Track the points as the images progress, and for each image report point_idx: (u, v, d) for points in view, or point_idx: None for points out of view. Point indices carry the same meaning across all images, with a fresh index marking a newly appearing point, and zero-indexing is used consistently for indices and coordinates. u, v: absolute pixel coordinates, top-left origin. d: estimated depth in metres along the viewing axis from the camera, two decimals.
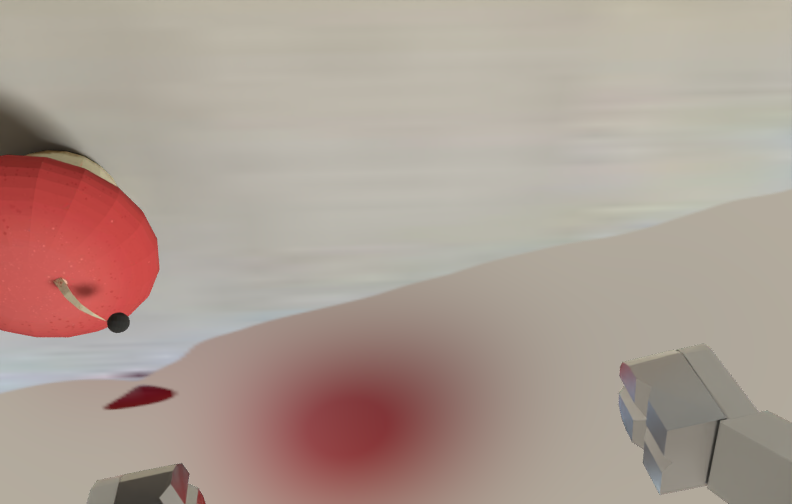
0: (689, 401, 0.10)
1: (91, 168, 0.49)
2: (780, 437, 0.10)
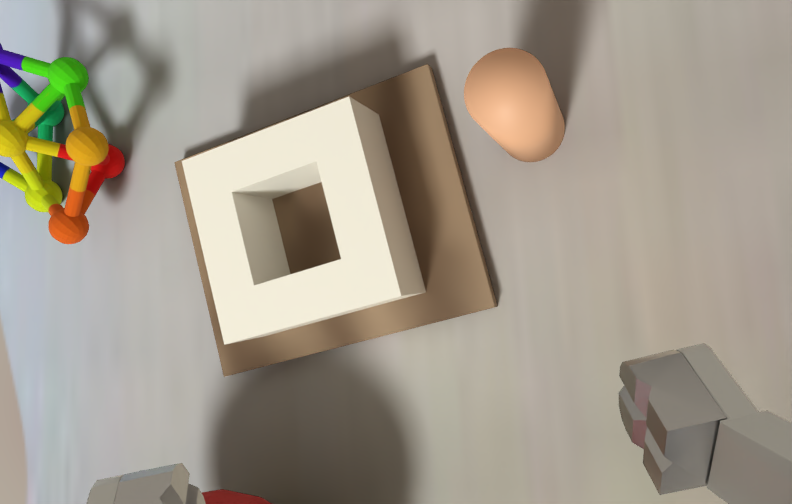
0: (689, 401, 0.10)
1: None
2: (779, 437, 0.10)
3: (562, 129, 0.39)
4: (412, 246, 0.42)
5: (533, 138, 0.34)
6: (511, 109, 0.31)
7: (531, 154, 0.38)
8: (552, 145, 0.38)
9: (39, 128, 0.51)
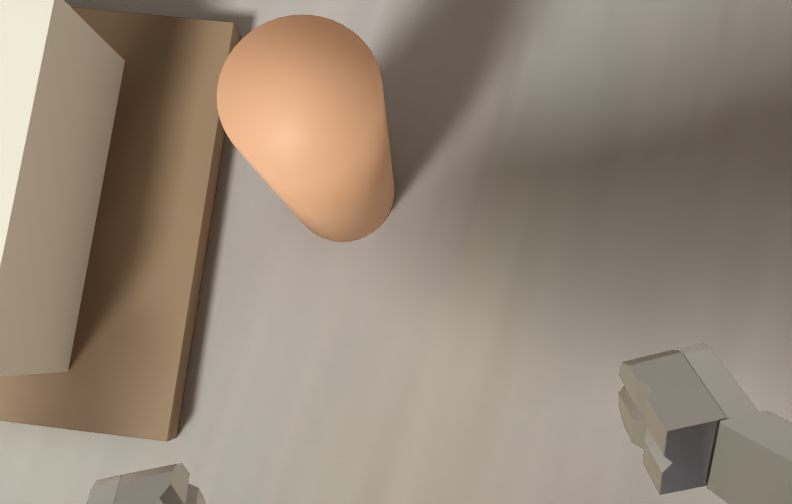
0: (689, 401, 0.10)
1: None
2: (779, 437, 0.10)
3: (385, 210, 0.24)
4: (77, 289, 0.24)
5: (324, 204, 0.19)
6: (295, 133, 0.16)
7: (321, 227, 0.23)
8: (359, 227, 0.23)
9: None
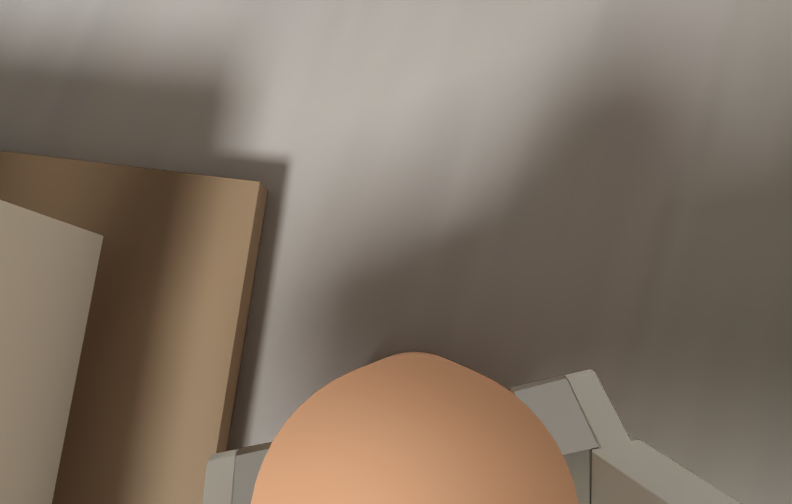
0: (565, 429, 0.10)
1: None
2: (646, 467, 0.10)
3: None
4: None
5: None
6: None
7: None
8: None
9: None
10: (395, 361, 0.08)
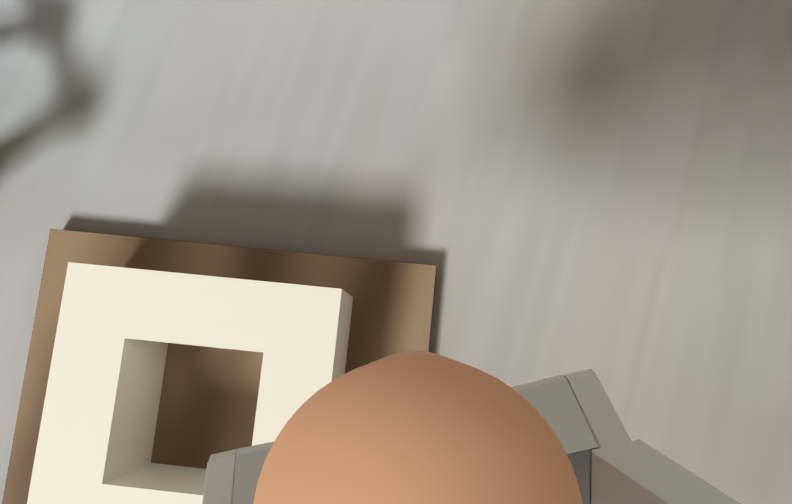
0: (565, 429, 0.10)
1: None
2: (646, 467, 0.10)
3: None
4: None
5: None
6: None
7: None
8: None
9: None
10: (398, 359, 0.08)
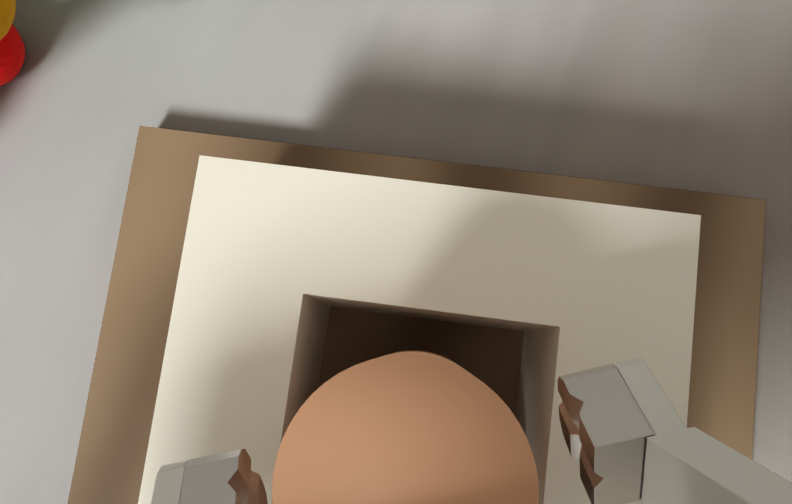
0: (618, 417, 0.10)
1: None
2: (703, 454, 0.10)
3: None
4: None
5: None
6: None
7: None
8: None
9: None
10: (389, 357, 0.10)
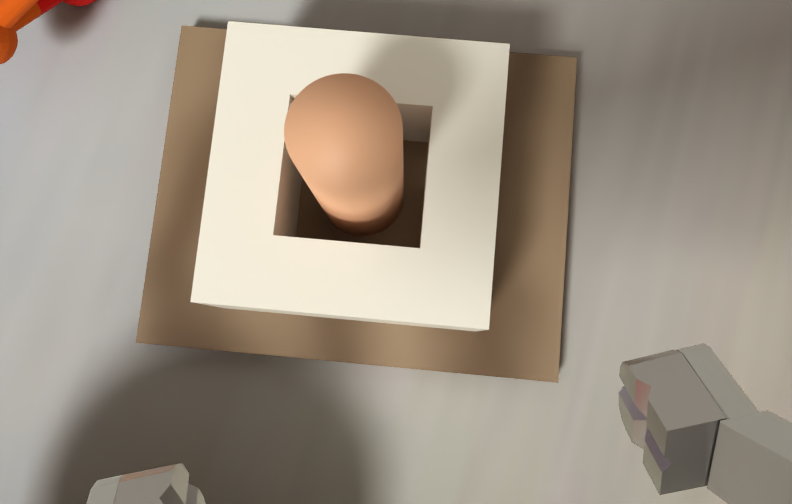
0: (689, 401, 0.10)
1: None
2: (779, 436, 0.10)
3: (397, 210, 0.30)
4: None
5: (356, 208, 0.25)
6: (341, 159, 0.22)
7: (349, 225, 0.29)
8: (378, 224, 0.30)
9: None
10: None
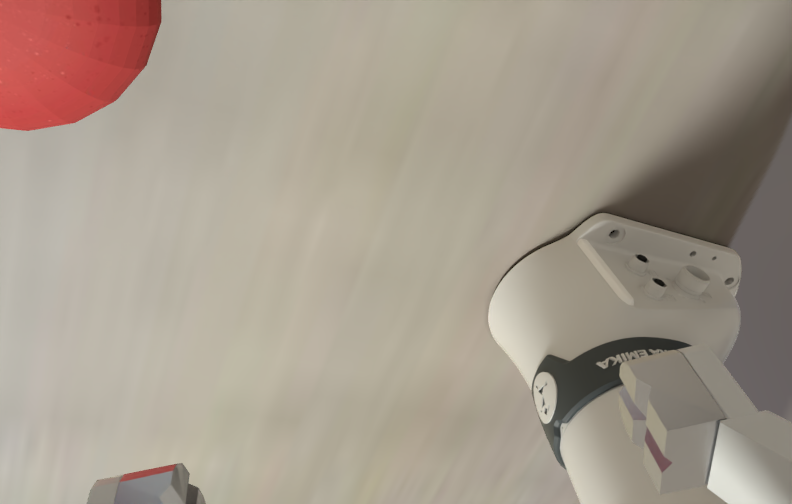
0: (689, 401, 0.10)
1: None
2: (779, 437, 0.10)
3: None
4: None
5: None
6: None
7: None
8: None
9: None
10: None
